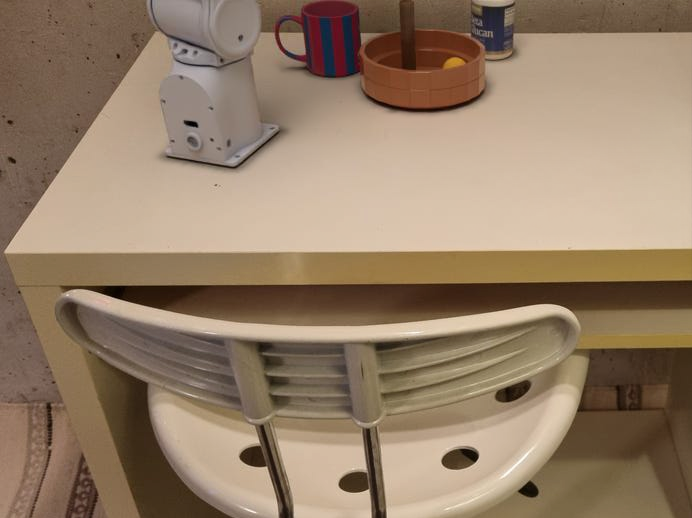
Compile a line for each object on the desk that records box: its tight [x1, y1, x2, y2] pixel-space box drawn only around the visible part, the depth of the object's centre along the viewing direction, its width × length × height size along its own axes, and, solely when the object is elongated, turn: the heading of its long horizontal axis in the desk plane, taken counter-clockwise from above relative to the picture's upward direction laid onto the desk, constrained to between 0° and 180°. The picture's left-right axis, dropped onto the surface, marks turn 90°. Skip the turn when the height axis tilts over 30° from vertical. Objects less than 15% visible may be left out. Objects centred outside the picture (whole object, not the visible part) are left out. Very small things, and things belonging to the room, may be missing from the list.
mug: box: [274, 0, 362, 78], centre depth 101 cm, size 7×10×7 cm
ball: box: [443, 57, 466, 69], centre depth 97 cm, size 3×3×3 cm
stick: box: [398, 0, 416, 70], centre depth 95 cm, size 4×4×9 cm
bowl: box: [359, 28, 486, 110], centre depth 97 cm, size 14×14×4 cm
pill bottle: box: [470, 0, 516, 61], centre depth 104 cm, size 5×5×10 cm
